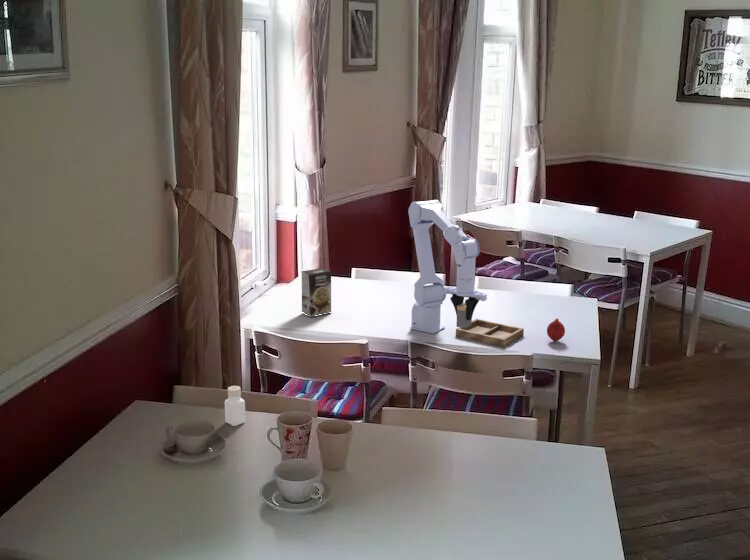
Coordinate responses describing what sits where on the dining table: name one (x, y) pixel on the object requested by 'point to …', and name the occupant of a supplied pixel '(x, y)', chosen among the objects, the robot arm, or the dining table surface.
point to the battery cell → (462, 316)
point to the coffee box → (316, 291)
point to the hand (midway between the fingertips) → (464, 318)
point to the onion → (555, 330)
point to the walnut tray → (490, 332)
